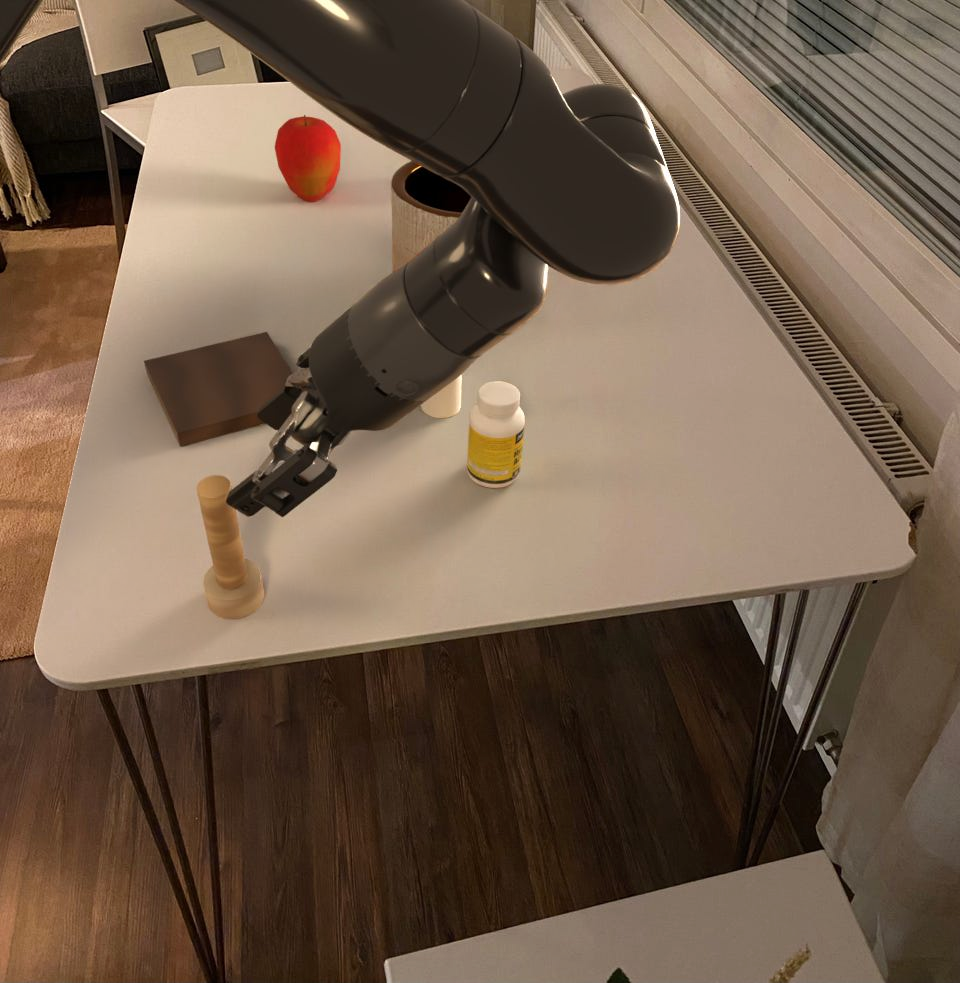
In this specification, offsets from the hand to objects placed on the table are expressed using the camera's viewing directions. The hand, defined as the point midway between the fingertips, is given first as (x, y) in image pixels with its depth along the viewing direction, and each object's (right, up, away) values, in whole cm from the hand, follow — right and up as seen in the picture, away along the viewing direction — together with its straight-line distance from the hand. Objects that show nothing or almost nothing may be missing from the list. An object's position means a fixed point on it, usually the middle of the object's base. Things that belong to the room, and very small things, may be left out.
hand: (253, 462), depth 70 cm
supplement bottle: (+18, 0, +27) cm, 33 cm away
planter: (+14, +21, +51) cm, 57 cm away
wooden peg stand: (-5, -11, +14) cm, 18 cm away
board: (-11, +9, +35) cm, 38 cm away
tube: (+12, +7, +35) cm, 38 cm away
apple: (-8, +41, +71) cm, 82 cm away
